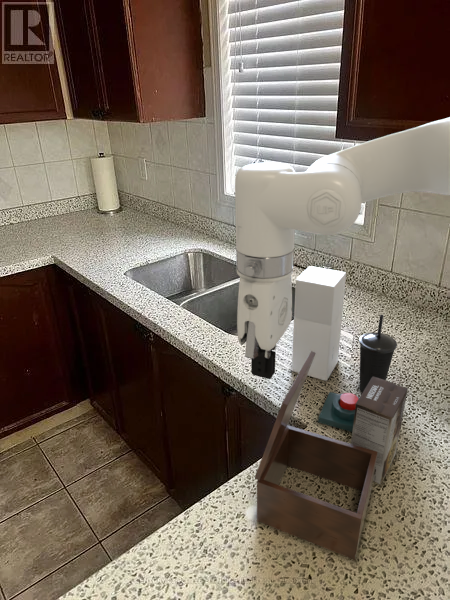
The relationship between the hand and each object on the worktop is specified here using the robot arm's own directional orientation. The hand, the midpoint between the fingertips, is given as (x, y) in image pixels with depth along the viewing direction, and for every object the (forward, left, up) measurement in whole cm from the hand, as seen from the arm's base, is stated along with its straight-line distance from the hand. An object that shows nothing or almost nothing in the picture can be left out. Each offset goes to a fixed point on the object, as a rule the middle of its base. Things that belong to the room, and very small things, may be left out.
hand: (263, 373), depth 67 cm
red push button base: (-10, -24, -25) cm, 36 cm away
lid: (-4, 0, -7) cm, 8 cm away
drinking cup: (-13, -35, -25) cm, 44 cm away
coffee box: (-16, -14, -25) cm, 33 cm away
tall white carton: (+1, -39, -25) cm, 46 cm away
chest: (-10, 0, -25) cm, 27 cm away
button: (-10, -24, -21) cm, 33 cm away
